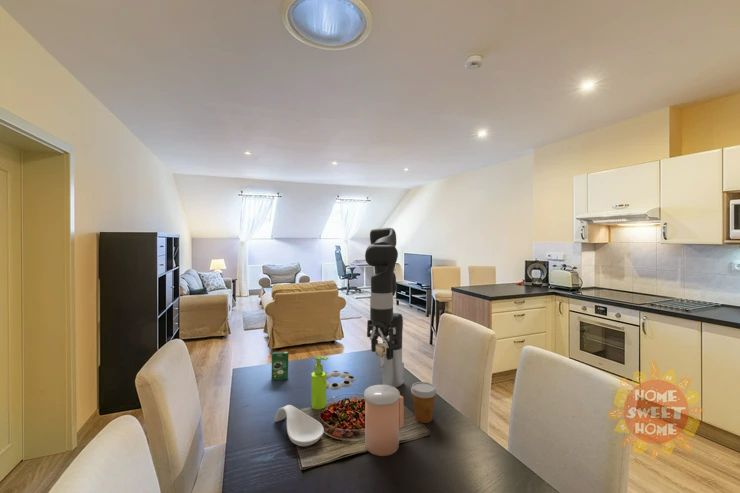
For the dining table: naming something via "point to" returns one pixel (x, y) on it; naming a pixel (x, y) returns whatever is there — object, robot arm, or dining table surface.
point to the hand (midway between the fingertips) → (381, 355)
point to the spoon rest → (300, 426)
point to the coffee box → (279, 366)
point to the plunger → (381, 352)
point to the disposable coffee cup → (423, 401)
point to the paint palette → (342, 375)
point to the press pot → (383, 419)
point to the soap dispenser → (318, 385)
